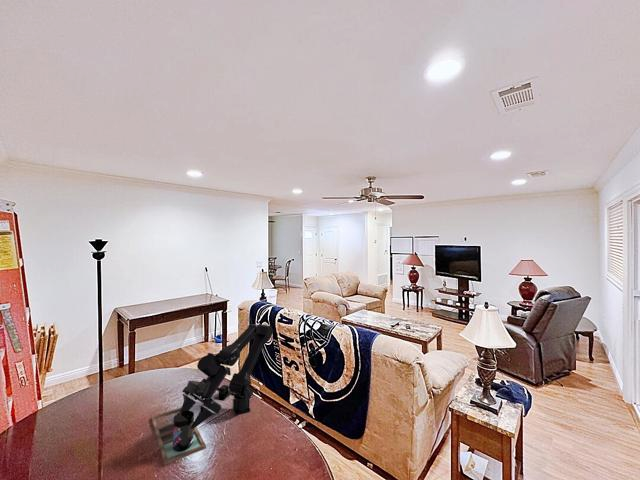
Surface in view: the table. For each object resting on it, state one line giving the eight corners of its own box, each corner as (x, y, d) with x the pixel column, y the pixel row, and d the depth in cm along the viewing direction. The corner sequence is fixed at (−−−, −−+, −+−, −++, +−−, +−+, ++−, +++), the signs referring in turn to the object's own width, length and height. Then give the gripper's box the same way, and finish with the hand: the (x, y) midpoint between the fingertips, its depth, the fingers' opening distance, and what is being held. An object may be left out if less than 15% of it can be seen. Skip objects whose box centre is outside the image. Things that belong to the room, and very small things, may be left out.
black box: (223, 404, 129) (223, 393, 129) (209, 402, 131) (209, 392, 131) (236, 390, 141) (236, 381, 142) (223, 389, 143) (223, 380, 143)
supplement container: (175, 440, 103) (176, 411, 103) (195, 438, 104) (196, 409, 105) (169, 453, 96) (170, 422, 97) (190, 451, 98) (191, 420, 98)
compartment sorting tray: (151, 418, 116) (151, 416, 116) (185, 408, 124) (185, 406, 124) (164, 465, 92) (164, 461, 92) (205, 448, 100) (206, 445, 100)
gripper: (187, 364, 111) (157, 405, 102) (214, 378, 100) (182, 425, 91) (205, 377, 117) (178, 417, 108) (232, 392, 106) (205, 437, 97)
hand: (185, 423), depth 101 cm, fingers open, 9 cm apart
